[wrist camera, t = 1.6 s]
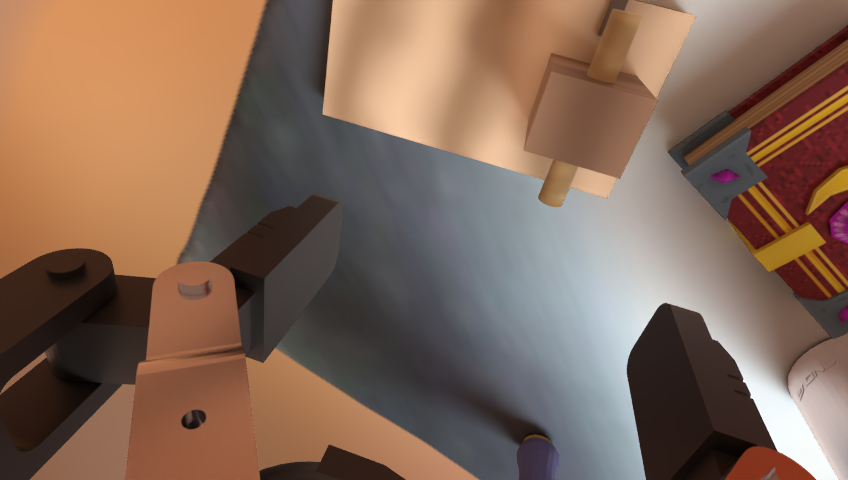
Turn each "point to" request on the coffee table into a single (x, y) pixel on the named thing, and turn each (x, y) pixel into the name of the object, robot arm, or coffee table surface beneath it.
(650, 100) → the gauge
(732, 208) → the decorative book
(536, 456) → the rubber mallet
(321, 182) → the coffee table surface
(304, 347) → the coffee table surface
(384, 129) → the board
